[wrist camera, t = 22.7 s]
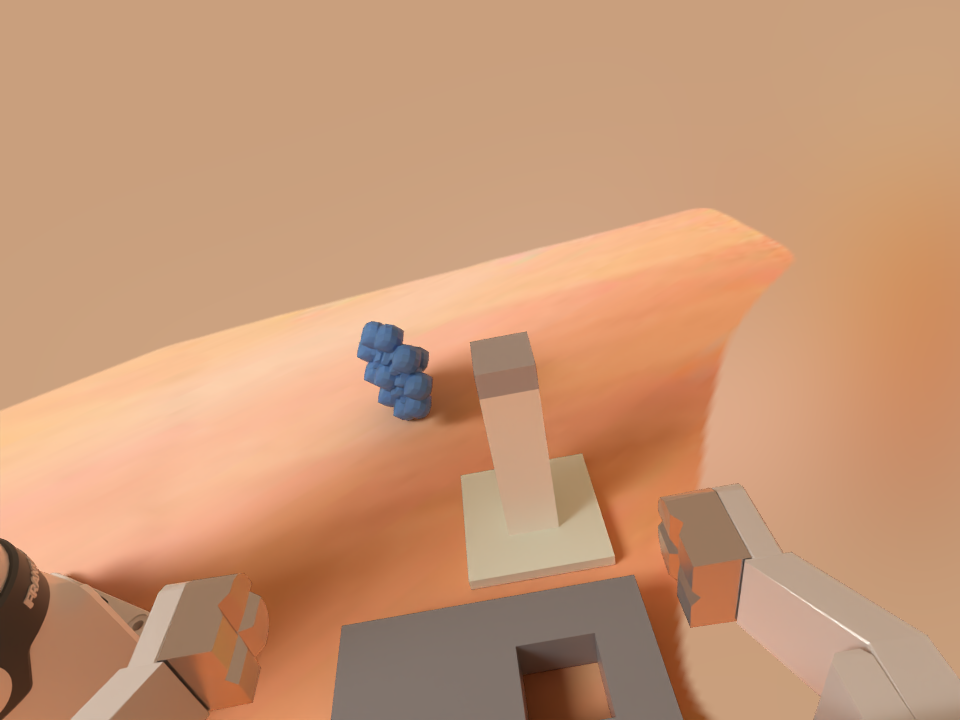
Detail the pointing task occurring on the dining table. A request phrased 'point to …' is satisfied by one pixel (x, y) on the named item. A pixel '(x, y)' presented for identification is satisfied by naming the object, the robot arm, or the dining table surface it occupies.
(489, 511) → the sage pad
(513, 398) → the cream plug
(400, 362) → the grapes
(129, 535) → the dining table surface
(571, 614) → the block
